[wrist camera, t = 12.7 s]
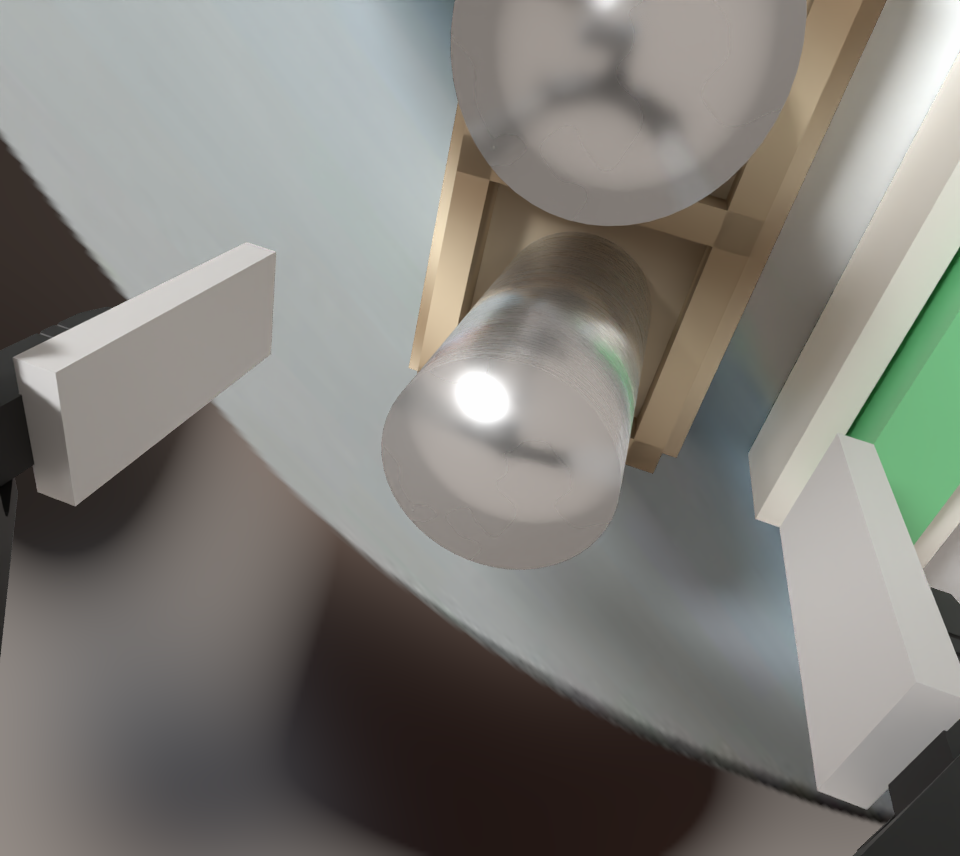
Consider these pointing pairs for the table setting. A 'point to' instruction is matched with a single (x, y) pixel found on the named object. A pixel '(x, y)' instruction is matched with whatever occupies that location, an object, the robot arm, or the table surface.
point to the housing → (869, 320)
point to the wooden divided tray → (656, 238)
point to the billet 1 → (622, 96)
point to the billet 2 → (526, 408)
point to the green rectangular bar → (920, 409)
